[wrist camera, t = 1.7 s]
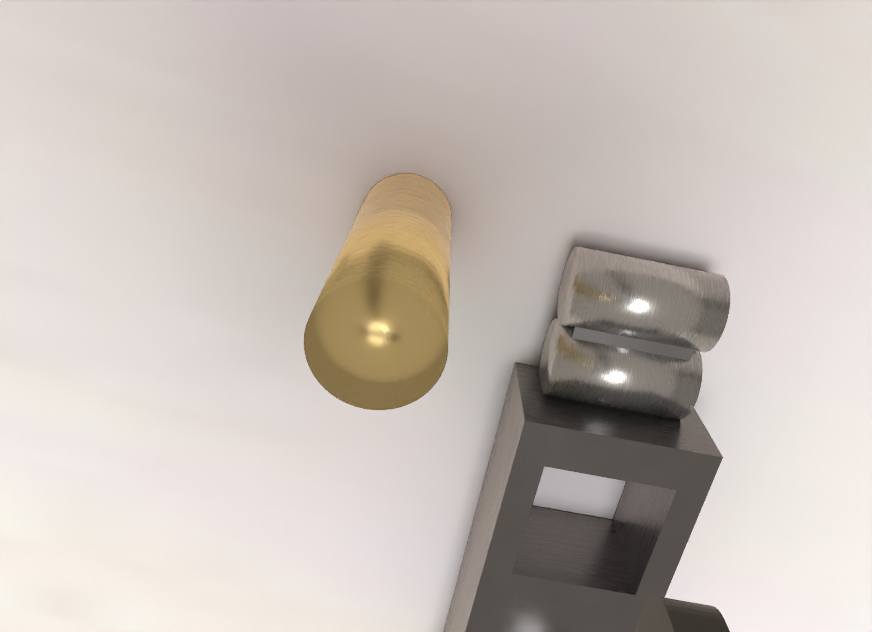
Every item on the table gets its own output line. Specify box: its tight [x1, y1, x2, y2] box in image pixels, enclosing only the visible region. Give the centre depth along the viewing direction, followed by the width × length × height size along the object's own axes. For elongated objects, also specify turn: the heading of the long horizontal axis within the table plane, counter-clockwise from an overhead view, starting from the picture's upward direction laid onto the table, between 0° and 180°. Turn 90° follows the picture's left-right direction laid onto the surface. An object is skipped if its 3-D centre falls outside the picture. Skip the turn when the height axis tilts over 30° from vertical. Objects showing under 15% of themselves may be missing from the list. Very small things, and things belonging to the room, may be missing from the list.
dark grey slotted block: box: [444, 246, 730, 632], centre depth 27 cm, size 25×6×6 cm, turn 169°
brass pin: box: [304, 173, 451, 410], centre depth 20 cm, size 3×3×10 cm
